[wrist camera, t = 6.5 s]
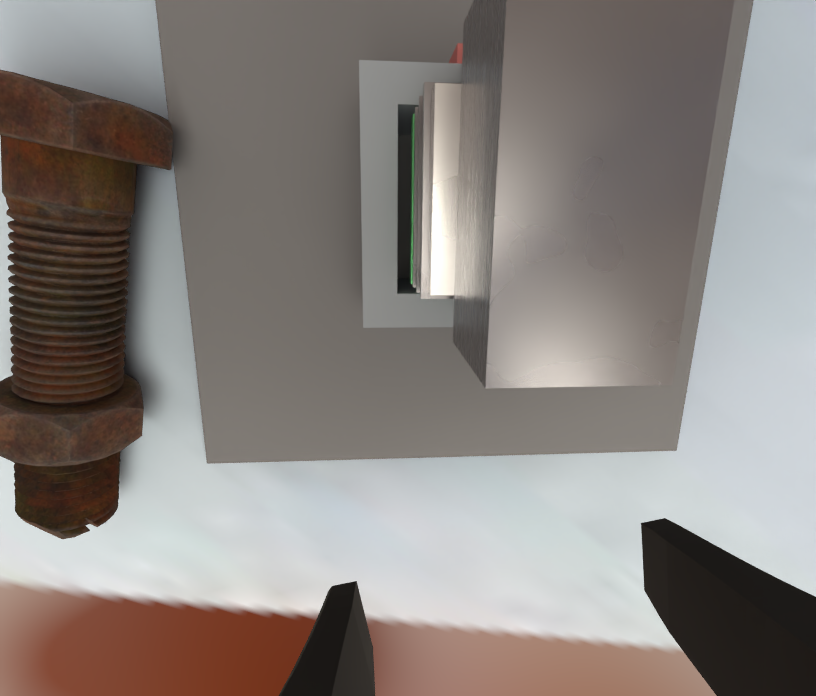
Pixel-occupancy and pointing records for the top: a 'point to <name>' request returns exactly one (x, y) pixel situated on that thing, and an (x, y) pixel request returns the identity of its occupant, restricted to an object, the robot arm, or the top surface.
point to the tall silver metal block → (568, 186)
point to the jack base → (356, 244)
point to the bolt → (70, 295)
